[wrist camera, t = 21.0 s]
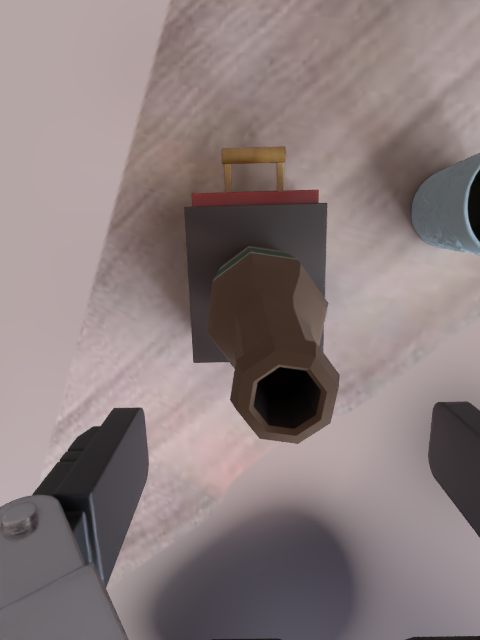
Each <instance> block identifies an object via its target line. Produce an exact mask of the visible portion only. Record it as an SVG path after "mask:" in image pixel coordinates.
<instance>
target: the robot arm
mask: <svg viewBox="0 0 480 640" xmlns="http://www.w3.org/2000/svg"><path fill="white" fill-rule="evenodd" d="M428 458H429V464H430V469H431V472H432V474H433V476H434V478H435V479H436V480H437V482H438V483H439V484H440V485H441V487H442V488H443V490H444V491H445V492H446V493H447V495H448V496H449V497H450V499H451V500H452V501H453V503H454V504H455V505H456V507H457V508H458V509H459V511H460V512H461V513H462V514H463V516H464V517H465V519H466V520H467V521H468V523H469V524H470V525H471V526H472V528H473V529H474V530H475V532H476V533H477V534H478V536H479V537H480V411H479V410H478V409H477V408H476V407H474V406H473V405H472V404H471V403H469V402H438V403H436V404H435V406H434V408H433V413H432V423H431V433H430V442H429V452H428ZM148 466H149V458H148V447H147V437H146V426H145V416H144V411H143V409H142V408H114V409H113V410H112V411H111V413H110V414H109V415H108V417H107V418H106V420H105V421H104V422H103V424H102V425H101V426H94V427H92V428H90V429H89V430H87V431H86V432H84V433H83V434H81V435H80V436H78V437H77V438H76V440H75V441H74V442H73V444H72V445H71V446H70V447H69V449H68V452H65V454H64V455H63V456H62V458H61V459H60V462H58V463H57V464H56V465H55V466H54V468H53V469H52V470H51V472H50V473H49V474H48V475H47V477H46V478H45V479H44V481H43V482H42V483H41V484H40V486H39V487H38V488H37V489H36V491H35V492H34V493H33V495H32V496H27V497H23V498H19V499H16V500H14V501H11V502H9V503H7V504H5V505H3V506H2V507H0V640H128V637H127V635H126V633H125V630H124V628H123V626H122V624H121V621H120V619H119V617H118V615H117V612H116V610H115V608H114V606H113V604H112V601H111V599H110V597H109V595H108V592H107V590H106V586H107V584H108V581H109V578H110V576H111V573H112V570H113V568H114V565H115V563H116V560H117V557H118V555H119V552H120V549H121V547H122V544H123V541H124V539H125V536H126V534H127V531H128V528H129V526H130V523H131V520H132V518H133V515H134V512H135V510H136V507H137V504H138V502H139V499H140V497H141V494H142V491H143V489H144V486H145V483H146V480H147V475H148ZM212 640H280V639H212ZM406 640H480V636H461V637H460V636H457V637H456V636H454V637H412V638H409V639H406Z"/></svg>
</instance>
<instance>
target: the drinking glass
mask: <svg viewBox="0 0 480 640" xmlns="http://www.w3.org/2000/svg"><path fill="white" fill-rule="evenodd" d="M411 211H412V213H411V216H412V224H413V227H414V229H415V231H416V232H417V234H418V235H419V236H420V237H421V238H422V239H423V240H424V241H425V242H427V243H429V244H431V245H433V246H436V247H440V248H444V249H449V250H454V251H459V252H469V253H473V254H476V255H480V153H478V154H476V155H473V156H471V157H469V158H467V159H465V160H464V161H460V162H458V163H456V164H454V165H452V166H450V167H448V168H446V169H443V170H441V171H438V172H436V173H435V174H433V175H431V176H430V177H429V178H428V179H427V180H425V181H424V182H423V184H422V185H421V186H419V188H418V191H417V193H415V197H414V199H413V203H412V209H411Z"/></svg>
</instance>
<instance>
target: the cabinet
mask: <svg viewBox="0 0 480 640" xmlns="http://www.w3.org/2000/svg"><path fill="white" fill-rule="evenodd" d="M184 210H185V226H186V243H187V260H188V277H189V294H190V311H191V328H192V345H193V362H194V363H206V362H229V361H228V359H227V358H226V357H225V356H224V354H223V353H222V352H221V351H220V349H219V348H218V347H217V346H216V344H215V343H214V342H213V340H212V339H211V338H210V337H209V335H208V334H207V333H206V331H207V321H208V313H209V306H210V298H211V291H212V283H213V279H214V278H215V276H216V274H217V272H218V270H219V269H220V267H221V266H222V265H223V264H225V263H226V262H227V261H229V260H230V259H231V258H233V257H234V256H235V255H237V254H238V253H239V252H241V251H242V250H243V249H245V248H246V247H247V246H256V247H263V248H269V249H276V250H282V251H285V252H286V253H288V254H290V255H291V256H293V257H295V258H296V259H298V261H299V262H300V263H301V265H302V266H303V268H304V269H305V271H306V272H307V273H308V275H309V276H310V278H311V279H312V281H313V282H314V283H315V285H316V286H317V288H318V289H319V290H320V292H321V293H322V295H323V296H324V298H325V267H326V230H327V203H309V204H273V205H238V206H202V207H184ZM323 341H324V326H323V331H322V336H321V340H320V345H319V347H320V349H321V350H322V351H323Z"/></svg>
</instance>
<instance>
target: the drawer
mask: <svg viewBox="0 0 480 640" xmlns="http://www.w3.org/2000/svg"><path fill="white" fill-rule="evenodd" d="M221 153H222V164H224V173H225V192H223V193H192V207H202V206H238V205H273V204H309V203H318V201H319V190H293V191H283V162H285V160H286V148H285V146H280V147H247V148H222V150H221ZM249 163H277V191H258V192H231V164H249Z"/></svg>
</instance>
